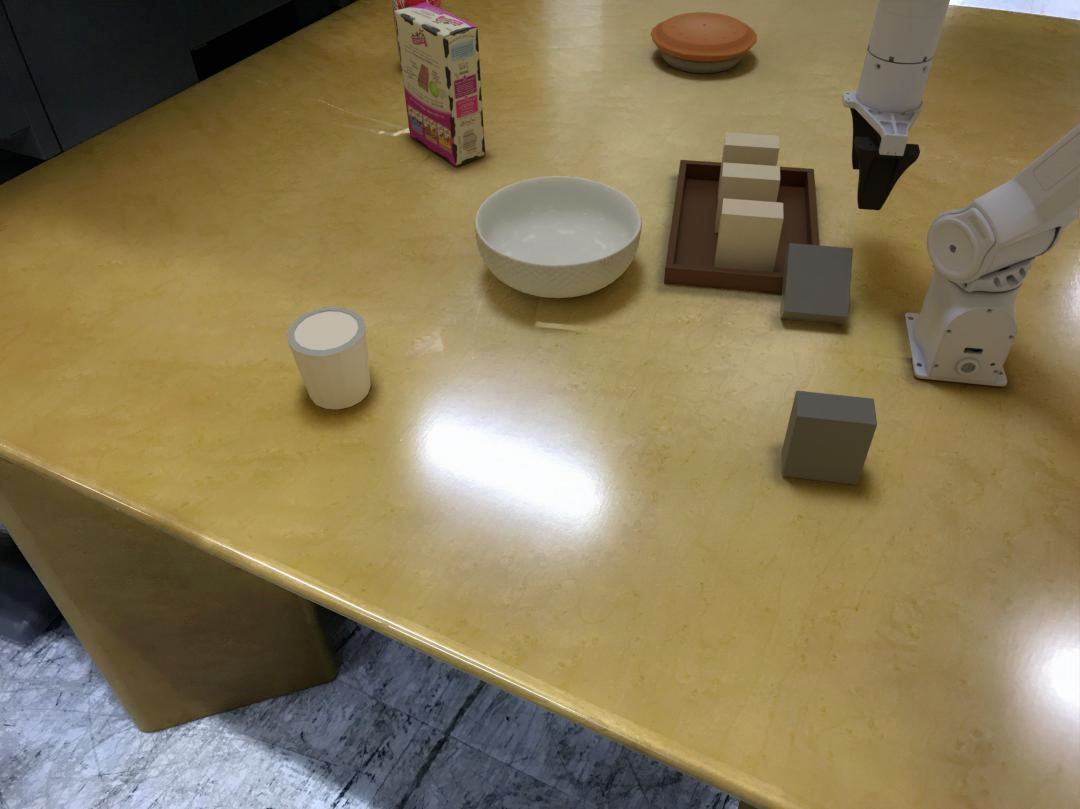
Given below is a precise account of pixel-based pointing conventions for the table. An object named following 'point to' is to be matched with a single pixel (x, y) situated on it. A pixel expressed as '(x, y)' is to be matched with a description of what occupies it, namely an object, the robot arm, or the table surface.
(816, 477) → the grey book
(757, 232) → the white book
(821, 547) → the table surface
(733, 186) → the white book
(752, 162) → the white book
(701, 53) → the pie
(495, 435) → the table surface
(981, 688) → the table surface
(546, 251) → the cereal bowl
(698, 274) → the book tray
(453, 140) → the candy bar box
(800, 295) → the gray rectangular block
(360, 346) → the white cup
